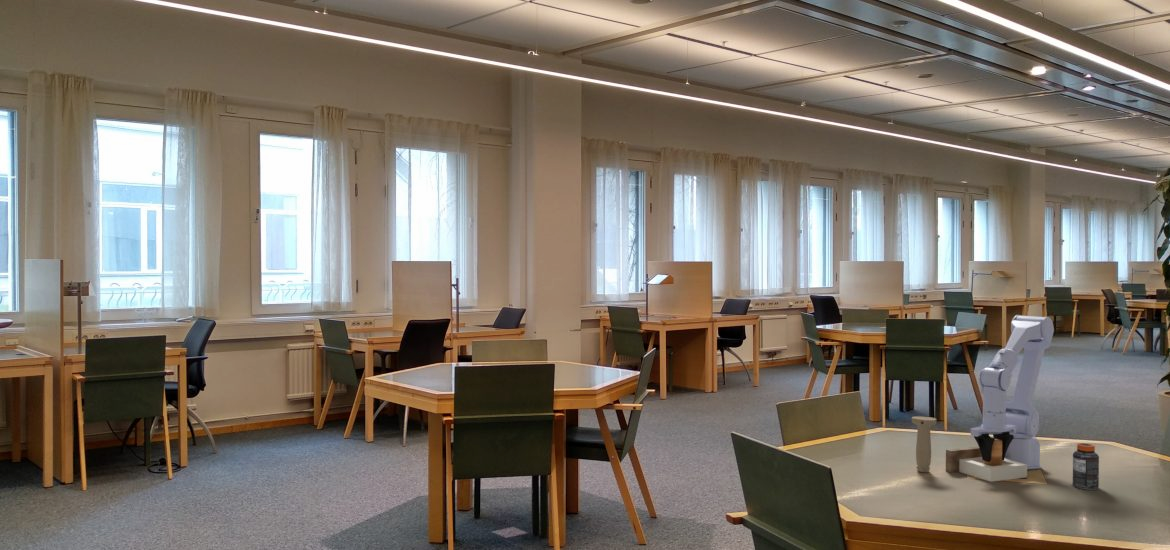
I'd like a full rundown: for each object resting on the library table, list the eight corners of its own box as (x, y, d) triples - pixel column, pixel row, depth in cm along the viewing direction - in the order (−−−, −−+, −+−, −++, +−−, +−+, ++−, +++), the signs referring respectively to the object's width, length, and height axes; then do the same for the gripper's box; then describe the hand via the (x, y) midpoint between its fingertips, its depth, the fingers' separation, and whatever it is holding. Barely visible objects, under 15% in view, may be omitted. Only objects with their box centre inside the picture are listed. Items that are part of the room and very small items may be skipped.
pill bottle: (1095, 485, 226) (1096, 442, 226) (1101, 491, 221) (1102, 447, 221) (1070, 483, 228) (1070, 441, 228) (1074, 488, 223) (1075, 445, 222)
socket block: (994, 467, 244) (995, 455, 244) (1026, 477, 234) (1027, 464, 234) (959, 471, 240) (959, 459, 240) (990, 481, 229) (990, 468, 229)
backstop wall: (997, 465, 247) (997, 444, 247) (1003, 466, 245) (1003, 445, 245) (945, 470, 241) (945, 449, 241) (950, 472, 239) (951, 451, 239)
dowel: (1005, 470, 236) (1006, 441, 235) (993, 471, 234) (993, 442, 234) (992, 466, 240) (993, 437, 239) (980, 467, 238) (981, 439, 238)
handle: (933, 475, 236) (934, 421, 236) (909, 471, 240) (910, 418, 239) (937, 471, 240) (937, 418, 240) (913, 468, 244) (913, 415, 243)
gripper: (1002, 407, 243) (1001, 454, 243) (962, 410, 238) (961, 458, 238) (1023, 411, 236) (1022, 460, 236) (982, 415, 231) (981, 464, 231)
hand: (993, 460), depth 237 cm, fingers closed on dowel, 4 cm apart
